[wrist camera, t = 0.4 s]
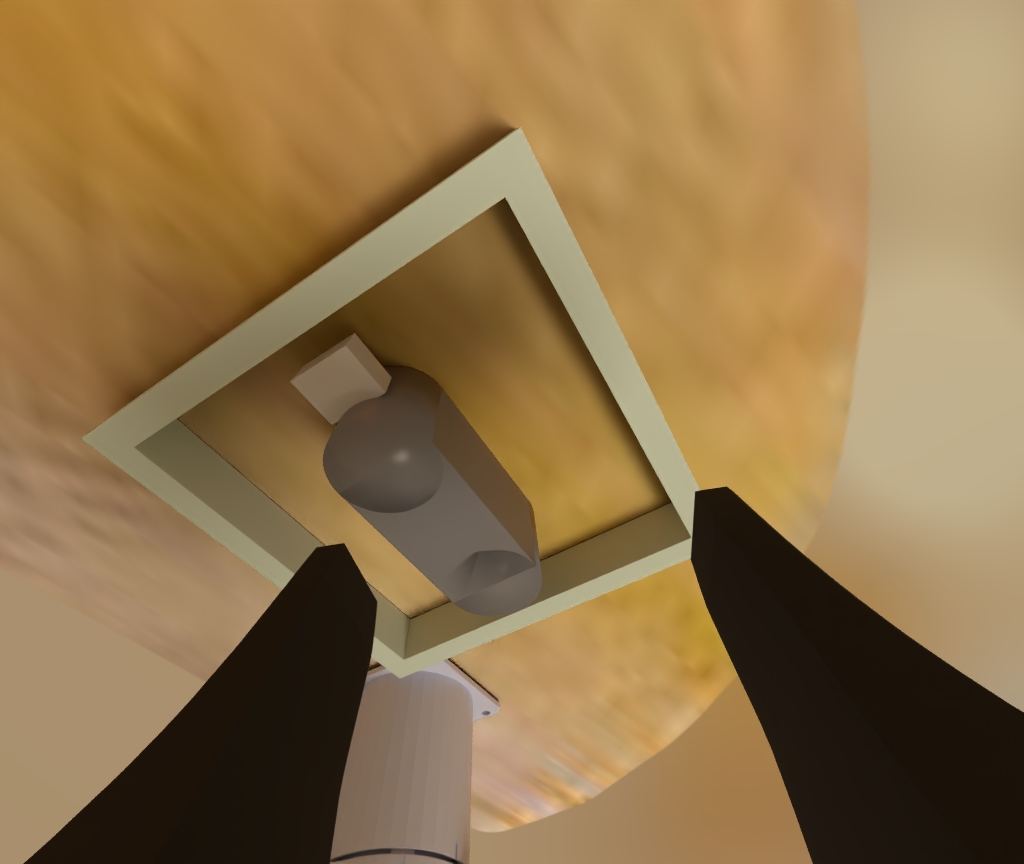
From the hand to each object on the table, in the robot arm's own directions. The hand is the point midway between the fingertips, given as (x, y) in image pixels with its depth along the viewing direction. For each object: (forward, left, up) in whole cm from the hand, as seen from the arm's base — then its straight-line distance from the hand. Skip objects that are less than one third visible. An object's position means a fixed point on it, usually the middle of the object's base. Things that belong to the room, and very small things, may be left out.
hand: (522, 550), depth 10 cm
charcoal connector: (-5, -3, -10) cm, 12 cm away
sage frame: (-5, -3, -10) cm, 11 cm away
